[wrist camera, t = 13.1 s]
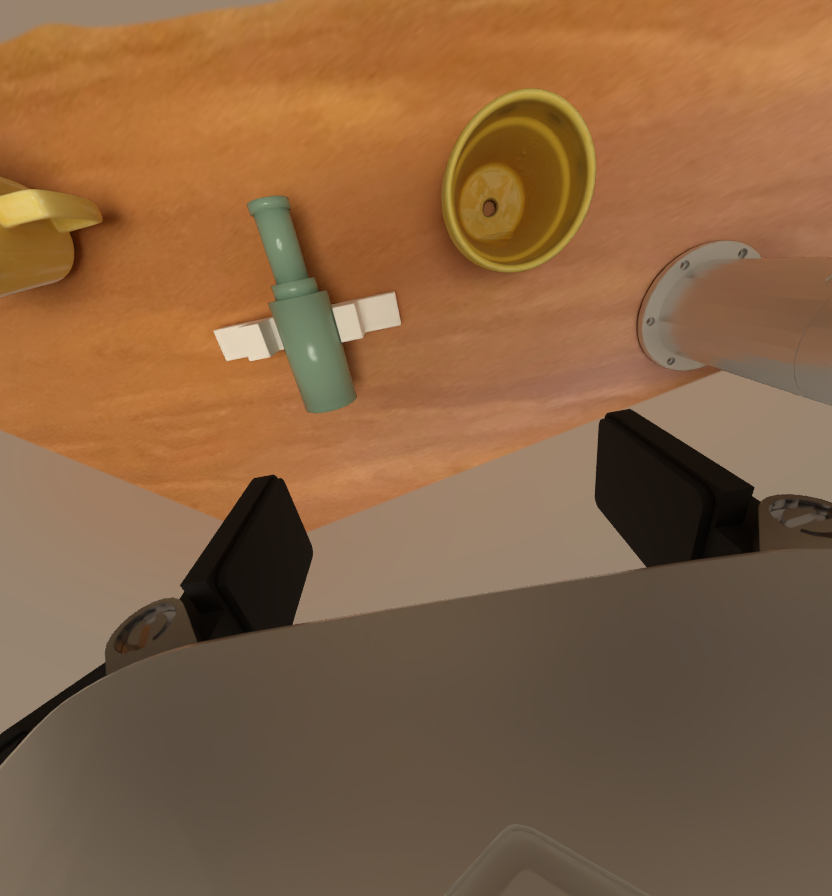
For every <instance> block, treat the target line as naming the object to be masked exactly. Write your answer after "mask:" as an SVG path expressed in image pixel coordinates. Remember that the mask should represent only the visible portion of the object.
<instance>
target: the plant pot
mask: <svg viewBox="0 0 832 896" xmlns="http://www.w3.org/2000/svg"><path fill="white" fill-rule="evenodd" d="M595 179H596V157H595V150H594V145H593V141H592V137H591V135H590V132H589V129H588V127H587V125H586V123H585V121H584V119H583V118H582V117H581V115H580V114H579V112H578V111H577V110H576V109H575V108H574V106H573V105H571V104H570V103H569V102H568V101H567V100H565V99H564V98H563V97H561V96H559V95H557V94H555V93H553V92H550V91H547V90H543V89H533V88H526V89H520V90H515V91H512V92H509V93H506V94H504V95H502V96H500V97H498V98H496V99H494V100H493V101H491V102H490V103H489V104H487V105H486V106H485V107H484V108H482V109H481V110H480V111H479V112H478V113H477V114H476V115H475V116H474V117H473V118H472V119H471V120H470V122H469V123H468V124H467V126H466V127H465V128H464V130H463V131H462V133H461V135H460V136H459V138H458V140H457V142H456V143H455V145H454V147H453V150H452V152H451V154H450V157H449V159H448V162H447V165H446V168H445V172H444V177H443V182H442V190H441V205H442V213H443V218H444V222H445V226H446V229H447V231H448V234H449V236H450V238H451V240H452V241H453V243H454V245H455V246H456V247H457V249H458V250H459V251H460V252H461V253H462V254H463V255H464V256H465V257H466V258H467V259H468V260H470V261H471V262H473V263H474V264H476V265H478V266H480V267H482V268H485V269H488V270H492V271H497V272H506V273H514V272H521V271H526V270H529V269H532V268H535V267H537V266H539V265H541V264H543V263H545V262H547V261H548V260H550V259H551V258H553V257H554V256H555V255H556V254H558V253H559V252H560V251H561V250H562V249H563V248H564V247H565V246H566V245H567V244H568V243H569V241H570V240H571V239H572V238H573V237H574V235H575V234H576V232H577V231H578V229H579V227H580V226H581V224H582V222H583V220H584V218H585V216H586V213H587V211H588V208H589V206H590V202H591V199H592V196H593V191H594V186H595ZM488 200H492V201H493V202H495V204H496V211H495V213H494V214H493V215H491V216H485V215H484V213H483V205H484V203H485V202H486V201H488Z"/></svg>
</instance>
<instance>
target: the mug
mask: <svg viewBox="0 0 832 896" xmlns="http://www.w3.org/2000/svg"><path fill="white" fill-rule="evenodd" d="M102 221H103V219H102V215H101V212H100V211H99V209H98V208H97V206H96V205H95V204H94V203H93V202H92V201H91V200H89V199H86V198H83V197H79V196H75V195H71V194H65V193H60V192H54V191H48V190H39V189H29V188H28V187H26V186H24V185H22V184H20V183H17V182H15V181H12V180H9V179H6V178H4V177H1V176H0V298H1V297H4V296H8V295H11V294H15V293H18V292H22V291H25V290H29V289H33V288H36V287H40V286H44V285H48V284H52V283H55V282H58V281H60V280H61V279H63V278H64V277H65V276H66V275H67V274H68V273H69V272H70V270H71V268H72V265H73V262H74V246H73V241H72V238H71V235H70V231H74V230H77V229H81V228H85V227H89V226H92V225H96V224H99V223H101V222H102Z"/></svg>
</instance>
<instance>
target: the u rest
mask: <svg viewBox="0 0 832 896" xmlns="http://www.w3.org/2000/svg"><path fill="white" fill-rule="evenodd" d="M331 305H332V310H333V313H334V317H335V321H336V324H337V328H338V331H339V335H340V338H341V342H346V341H351V340H356V339H360V338H363V337H364V335H365V332H370V331H375V330H380V329H385V328H389V327H394V326H399V325H401V320H400V315H399V310H398V305H397V300H396V295H395V291H392V292H388V293H383V294H378V295H373V296H369V297H364V298H359V299H354V300H350V301H345V302H340V303H336V304H331ZM214 334H215V336H216V338H217V340H218V343H219V345H220V347H221V349H222V352H223V354H224V356H225V359H226V361H229V360H234V359H239V358H244V357H248V358H249V361H253V360H258V359H263V358H268V357H271V356H272V355H274V354H275V353H277V352H278V351H279V350H283V349H284V347H283V344H282V342H281V339H280V336H279V333H278V330H277V328H276V325H275V322H274V319H273V317H269V318H264V319H260V320H255V321H250V322H245V323H241V324H236V325H231V326H226V327H222V328H219V329H217V330H214Z"/></svg>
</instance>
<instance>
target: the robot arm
mask: <svg viewBox="0 0 832 896" xmlns="http://www.w3.org/2000/svg"><path fill="white" fill-rule="evenodd" d="M638 337H639V341H640V345H641V347H642V349H643V351H644V353H645V354H646V355H647V356H648V357H649V358H650V359H651V360H652V361H653V362H655V363H656V364H658V365H660V366H662V367H665V368H668V369H672V370H677V371H688V370H693V369H699V368H702V367H704V366H707V365H708V366H711V367H714V368H717V369H720V370H723V371H727V372H729V373H733V374H735V375H739V376H742V377H745V378H748V379H751V380H754V381H757V382H760V383H763V384H766V385H769V386H772V387H775V388H778V389H781V390H784V391H788V392H790V393H793V394H796V395H800V396H803V397H806V398H809V399H812V400H815V401H818V402H822V403H825V404H828V405H831V406H832V257H801V258H762V257H761V256H760V254H759V253H758V252H757V251H756V250H755V249H753V248H752V247H751V246H749V245H747V244H744V243H742V242H738V241H730V240H725V241H714V242H709V243H704V244H701V245H699V246H696V247H694V248H692V249H690V250H688V251H686V252H685V253H683V254H681V255H680V256H678V257H677V258H676V259H675V260H673V261H672V262H671V263H670V264H669V265H667V266H666V268H665V269H664V270H663V271H662V272H661V273H660V274H659V275H658V276H657V278H656V279H655V281H654V282H653V284H652V285H651V287H650V288H649V290H648V292H647V294H646V296H645V298H644V300H643V303H642V306H641V309H640V312H639V318H638ZM753 490H754V487H753V486H752V485H750V484H749V483H747V482H745V481H744V480H742V479H741V478H739V477H737V476H736V475H734V474H733V473H731V472H729V471H728V470H726V469H725V468H723V467H722V466H720V465H718V464H717V463H715V462H714V461H712V460H710V459H709V458H707V457H706V456H704V455H703V454H701V453H699V452H698V451H696V450H695V449H693V448H692V447H690V446H688V445H687V444H685V443H684V442H682V441H680V440H679V439H677V438H675V437H674V436H672V435H671V434H669V433H668V432H666V431H665V430H663V429H661V428H659V427H658V426H657V425H655V424H653V423H652V422H650V421H649V420H647V419H645V418H644V417H642V416H641V415H639V414H638V413H636V412H634V411H633V410H631V409H626V410H621V411H616V412H610V413H607V414H606V416H605V418H604V419H601V420H600V422H599V432H598V449H597V466H596V484H595V501H596V504H597V506H598V508H599V509H600V510H601V512H602V513H603V514H604V515H605V517H606V518H607V519H608V520H609V521H610V523H611V524H612V525H613V526H614V528H615V529H616V530H617V531H618V533H619V534H620V535H621V536H622V537H623V539H624V540H625V541H626V542H627V544H628V545H629V546H630V547H631V549H632V550H633V551H634V552H635V554H637V556H638V557H639V559H640V560H641V561H642V562H643V563H644V565H645V566H646V567H647V568H640V569H634V570H628V571H621V572H615V573H608V574H602V575H596V576H589V577H584V578H577V579H570V580H564V581H557V582H551V583H544V584H538V585H531V586H525V587H519V588H513V589H507V590H501V591H494V592H488V593H482V594H476V595H470V596H464V597H457V598H451V599H445V600H439V601H433V602H427V603H420V604H414V605H409V606H402V607H397V608H390V609H385V610H378V611H372V612H366V613H360V614H354V615H348V616H343V617H337V618H331V619H325V620H319V621H313V622H307V623H301V624H295V625H292V624H293V621H294V617H295V614H296V610H297V607H298V604H299V601H300V597H301V593H302V590H303V587H304V584H305V581H306V577H307V574H308V571H309V567H310V564H311V560H312V557H313V549H312V545H311V543H310V540H309V538H308V536H307V533H306V531H305V528H304V526H303V524H302V521H301V519H300V517H299V514H298V512H297V510H296V507H295V505H294V503H293V500H292V498H291V496H290V493H289V491H288V489H287V486H286V484H285V482H284V480H283V479H282V478H279V479H278V478H277V477H276V476H275V475H269V476H263V477H258V478H254V479H253V480H252V481H251V482H250V484H249V485H248V487H247V488H246V490H245V491H244V493H243V494H242V496H241V497H240V498H239V500H238V501H237V503H236V504H235V506H234V507H233V509H232V510H231V512H230V513H229V515H228V516H227V517H226V519H225V520H224V522H223V523H222V525H221V526H220V528H219V529H218V531H217V532H216V534H215V535H214V536H213V538H212V539H211V541H210V542H209V544H208V545H207V547H206V548H205V550H204V551H203V553H202V554H201V555H200V557H199V559H198V560H197V561H196V563H195V564H194V566H193V567H192V569H191V570H190V571H189V573H188V575H187V576H186V577H185V579H184V580H183V582H182V583H181V585H180V586H181V587H182V589H183V590H184V593H183V595H182V596H181V598H180V599H177V598H164V599H161V600H158V601H155V602H152V603H150V604H148V605H146V606H144V607H142V608H141V609H139V610H138V611H137V612H135V613H134V614H132V615H131V616H129V617H128V618H127V619H126V620H125V621H124V622H123V623H122V624H121V625H120V626H119V627H118V628H117V629H116V630H115V631H114V633H113V634H112V635H111V637H110V639H109V641H108V642H107V645H106V649H105V663H104V664H102V665H101V666H99V667H98V668H96V669H95V670H93V671H92V672H90V673H89V674H87V675H86V676H84V677H83V678H82V679H80V680H79V681H77V682H76V683H74V684H73V685H71V686H70V687H68V688H67V689H65V690H64V691H62V692H61V693H60V694H58V695H57V696H55V697H54V698H52V699H51V700H49V701H48V702H46V703H45V704H43V705H42V706H41V707H39V708H38V709H36V710H35V711H33V712H32V713H31V714H29V715H27V716H26V717H25V718H23V719H22V720H20V721H19V722H17V723H16V724H14V725H13V726H11V727H10V728H9V729H7V730H6V731H4V732H3V733H2V734H0V896H832V503H831V502H828V501H825V500H823V499H818V498H814V497H809V496H802V495H793V494H782V495H774V496H770V497H766V498H765V499H763V500H762V501H761V502H760V501H759V500H757V499H756V498H754V497H753V496H752V494H753Z"/></svg>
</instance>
